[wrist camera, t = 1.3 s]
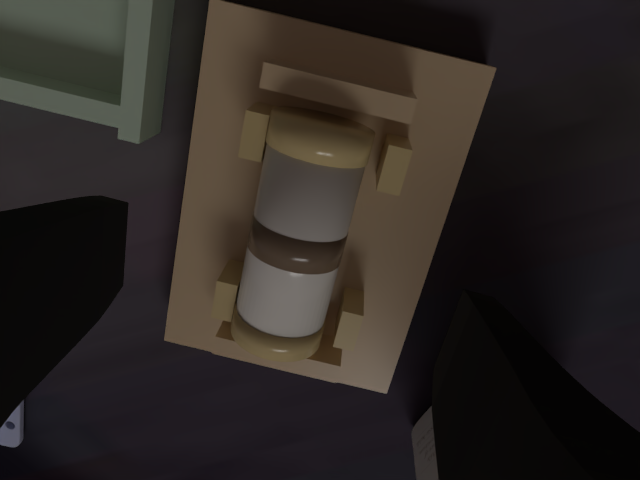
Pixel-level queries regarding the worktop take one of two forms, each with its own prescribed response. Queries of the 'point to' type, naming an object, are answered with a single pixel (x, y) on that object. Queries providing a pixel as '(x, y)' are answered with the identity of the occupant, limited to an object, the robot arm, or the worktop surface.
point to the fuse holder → (374, 194)
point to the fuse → (298, 231)
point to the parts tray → (89, 60)
